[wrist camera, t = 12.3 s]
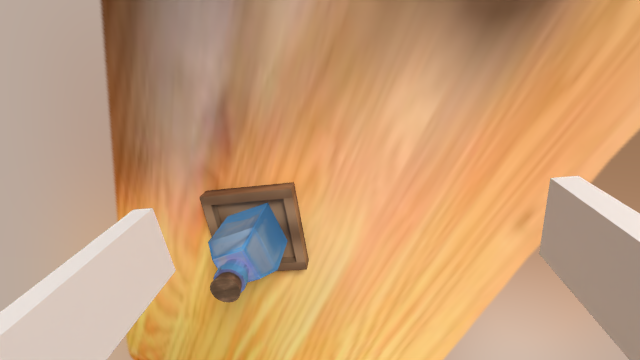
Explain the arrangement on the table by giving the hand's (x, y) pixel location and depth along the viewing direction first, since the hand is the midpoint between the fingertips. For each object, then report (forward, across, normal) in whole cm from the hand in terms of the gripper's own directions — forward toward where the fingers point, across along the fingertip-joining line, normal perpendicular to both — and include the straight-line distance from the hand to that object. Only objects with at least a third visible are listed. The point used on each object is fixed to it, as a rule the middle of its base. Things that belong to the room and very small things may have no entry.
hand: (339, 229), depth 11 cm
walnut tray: (+28, -14, -16) cm, 35 cm away
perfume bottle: (+28, -14, -16) cm, 35 cm away
